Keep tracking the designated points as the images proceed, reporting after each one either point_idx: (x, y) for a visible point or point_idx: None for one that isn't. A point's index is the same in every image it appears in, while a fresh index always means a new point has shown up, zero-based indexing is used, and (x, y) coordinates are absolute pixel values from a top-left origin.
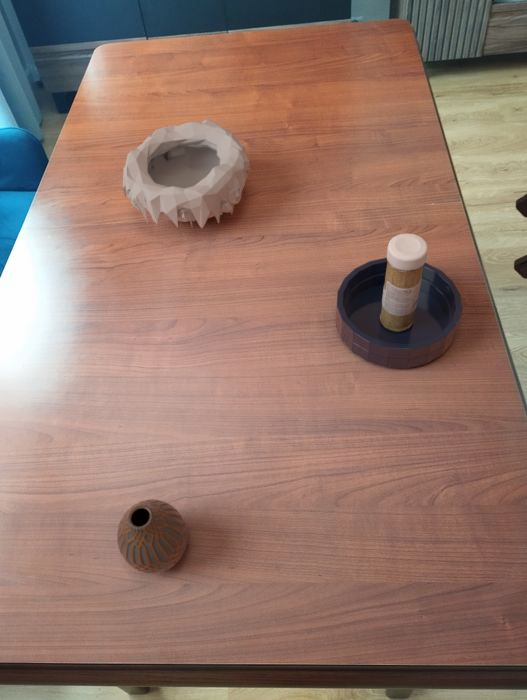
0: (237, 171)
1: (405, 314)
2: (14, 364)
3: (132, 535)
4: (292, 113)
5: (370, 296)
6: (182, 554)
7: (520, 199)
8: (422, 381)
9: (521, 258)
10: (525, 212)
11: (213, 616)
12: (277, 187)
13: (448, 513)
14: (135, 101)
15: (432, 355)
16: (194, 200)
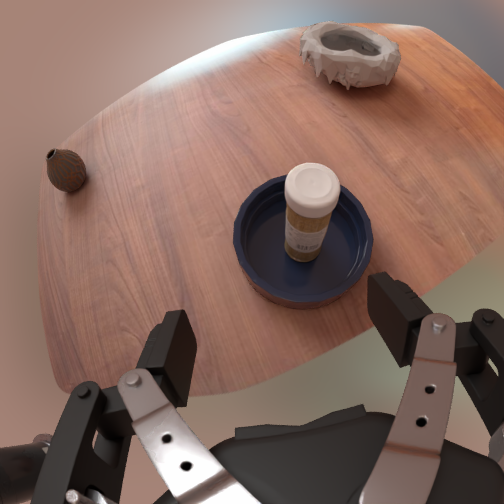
0: (365, 64)
1: (289, 244)
2: (174, 68)
3: (48, 158)
4: (468, 109)
5: None
6: (63, 190)
7: (382, 276)
8: (237, 294)
9: (173, 318)
10: (370, 303)
11: (50, 224)
12: (401, 112)
13: (118, 343)
14: (403, 39)
15: (261, 292)
16: (316, 53)
